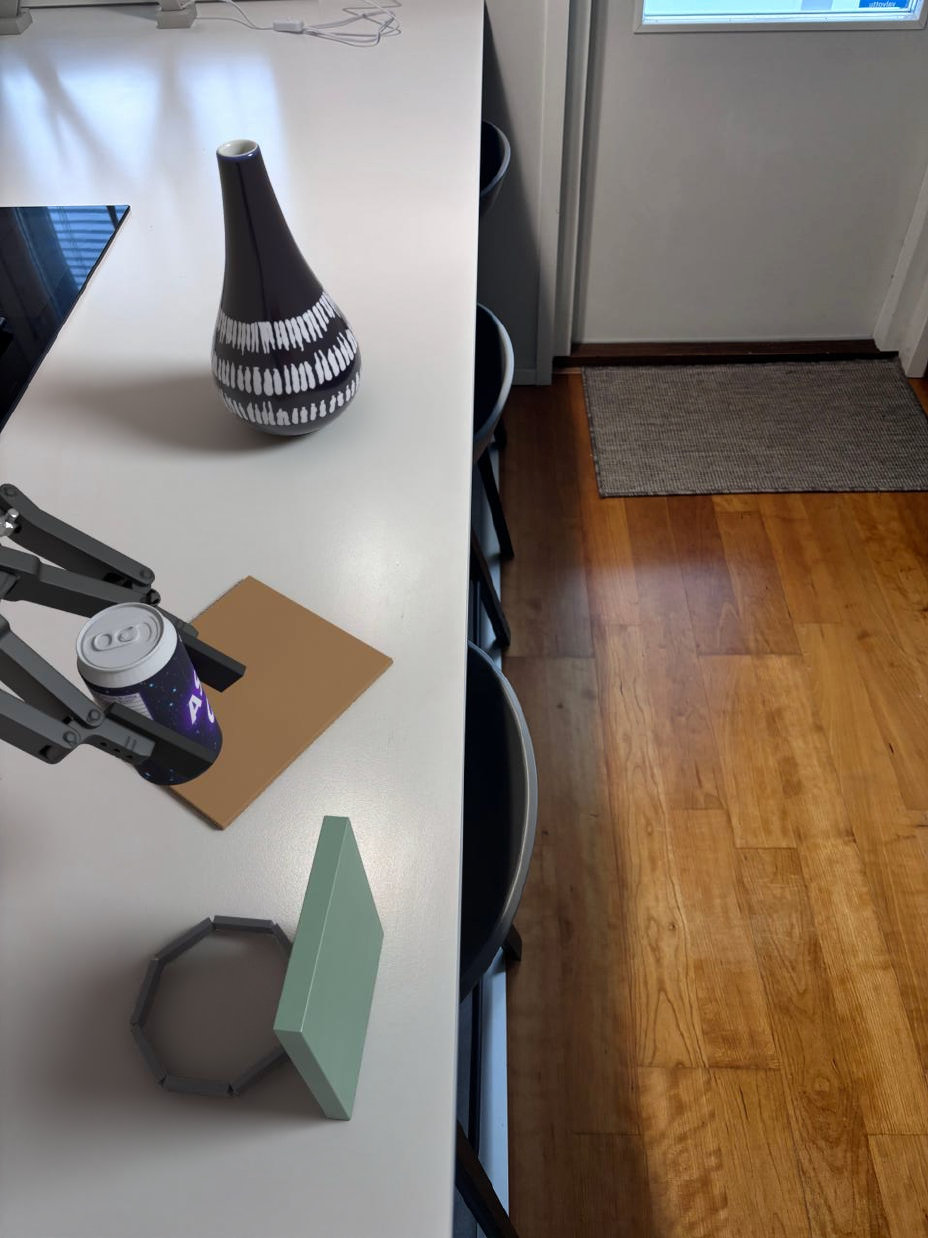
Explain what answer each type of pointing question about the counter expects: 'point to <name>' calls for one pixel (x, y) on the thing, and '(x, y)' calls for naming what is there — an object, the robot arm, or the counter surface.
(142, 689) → the beverage can
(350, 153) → the counter surface
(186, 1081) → the green panel with ring
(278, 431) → the vase
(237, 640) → the cork mat
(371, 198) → the counter surface
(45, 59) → the counter surface
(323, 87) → the counter surface
